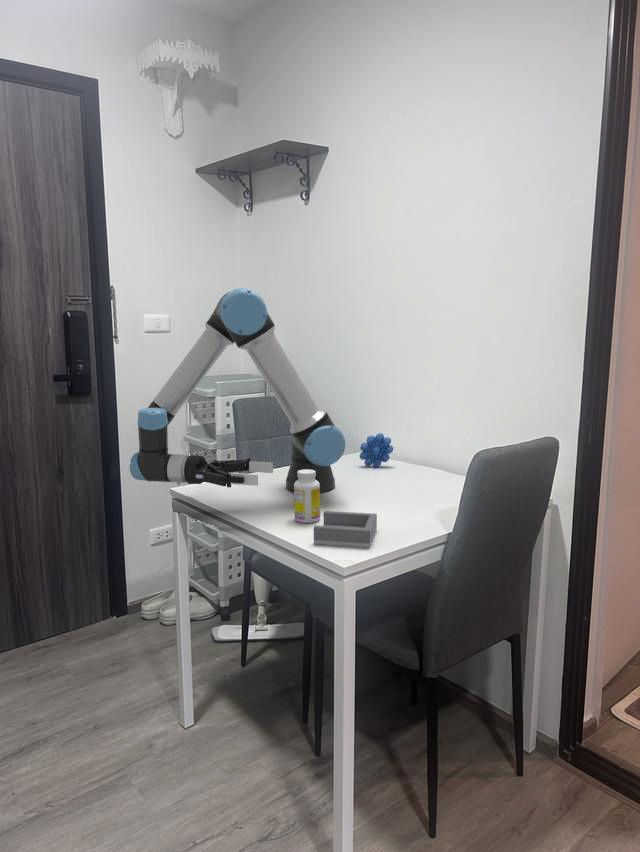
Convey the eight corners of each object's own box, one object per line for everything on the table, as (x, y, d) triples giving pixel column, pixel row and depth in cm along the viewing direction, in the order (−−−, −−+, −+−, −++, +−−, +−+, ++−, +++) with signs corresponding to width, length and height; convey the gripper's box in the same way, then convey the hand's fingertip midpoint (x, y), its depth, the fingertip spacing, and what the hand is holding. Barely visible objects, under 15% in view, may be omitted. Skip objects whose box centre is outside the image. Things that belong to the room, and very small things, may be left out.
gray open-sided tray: (313, 544, 148) (313, 527, 148) (324, 526, 161) (324, 510, 160) (369, 547, 146) (369, 530, 145) (376, 529, 158) (376, 513, 158)
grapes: (393, 464, 227) (393, 431, 225) (393, 469, 220) (393, 434, 218) (360, 464, 228) (360, 430, 226) (359, 468, 222) (359, 434, 220)
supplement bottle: (320, 515, 170) (319, 468, 167) (320, 523, 163) (320, 474, 161) (294, 516, 169) (293, 468, 167) (294, 524, 163) (293, 474, 161)
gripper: (206, 472, 183) (278, 476, 179) (168, 495, 159) (250, 500, 155) (205, 446, 182) (278, 449, 177) (167, 465, 158) (250, 470, 153)
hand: (265, 473), depth 166 cm, fingers open, 13 cm apart
